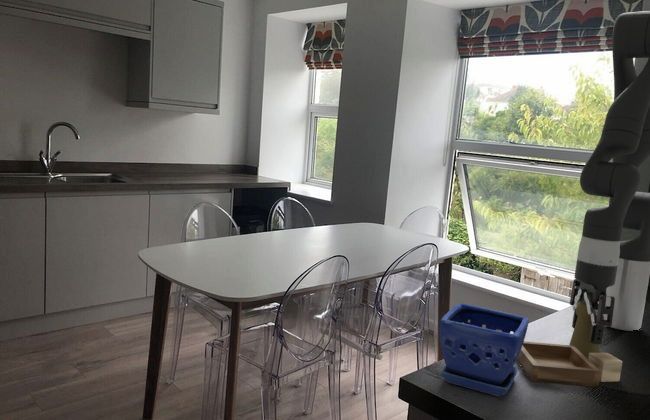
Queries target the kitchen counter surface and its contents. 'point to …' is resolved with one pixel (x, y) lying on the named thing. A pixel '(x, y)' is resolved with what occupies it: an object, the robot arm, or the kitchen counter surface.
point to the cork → (583, 332)
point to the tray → (557, 364)
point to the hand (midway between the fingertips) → (585, 335)
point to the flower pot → (481, 347)
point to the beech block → (606, 366)
